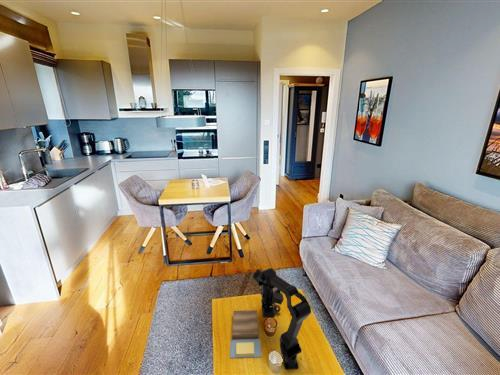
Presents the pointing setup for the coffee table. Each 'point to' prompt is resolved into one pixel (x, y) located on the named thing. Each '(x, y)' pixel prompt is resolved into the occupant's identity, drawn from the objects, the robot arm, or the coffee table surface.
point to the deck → (245, 325)
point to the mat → (256, 342)
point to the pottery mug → (276, 308)
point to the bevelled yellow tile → (244, 349)
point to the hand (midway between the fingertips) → (267, 314)
